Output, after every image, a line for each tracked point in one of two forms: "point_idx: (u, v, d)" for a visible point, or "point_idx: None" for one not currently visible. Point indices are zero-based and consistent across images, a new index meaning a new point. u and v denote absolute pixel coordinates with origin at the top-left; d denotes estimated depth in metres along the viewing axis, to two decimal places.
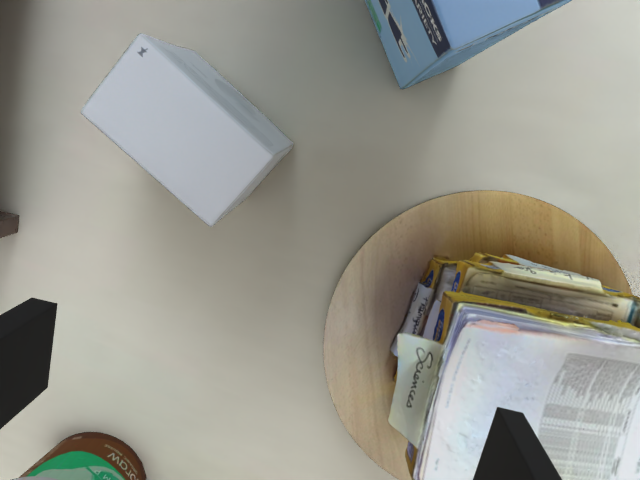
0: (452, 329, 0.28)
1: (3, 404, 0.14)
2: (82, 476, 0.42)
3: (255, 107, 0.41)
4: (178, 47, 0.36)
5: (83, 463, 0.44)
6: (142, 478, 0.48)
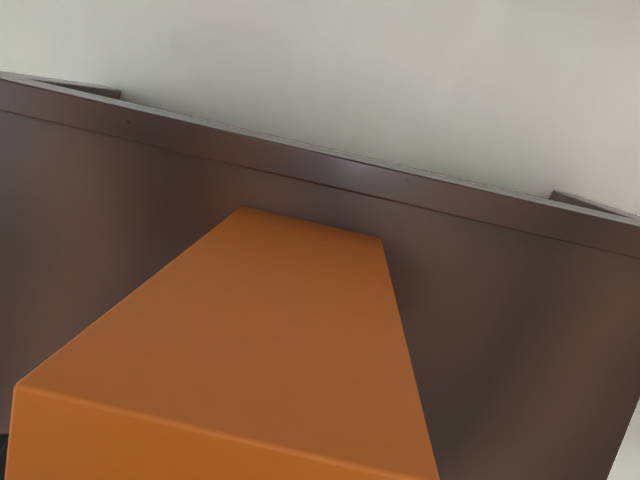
0: None
1: None
2: None
3: None
4: None
5: None
6: None
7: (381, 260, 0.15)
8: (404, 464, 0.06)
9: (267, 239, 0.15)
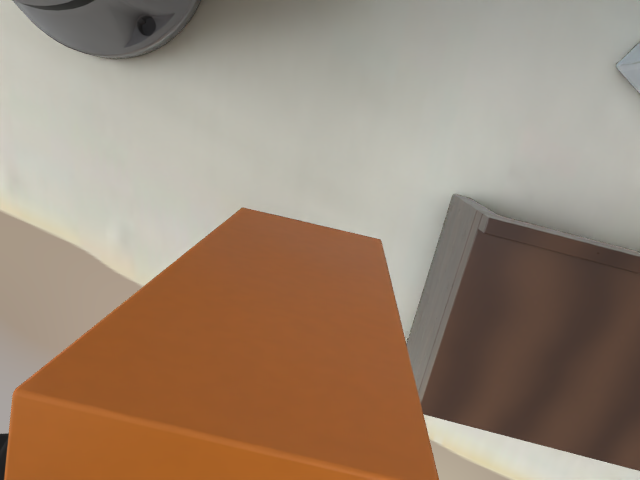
0: None
1: None
2: None
3: None
4: None
5: None
6: None
7: (381, 262, 0.15)
8: (405, 470, 0.06)
9: (267, 241, 0.15)
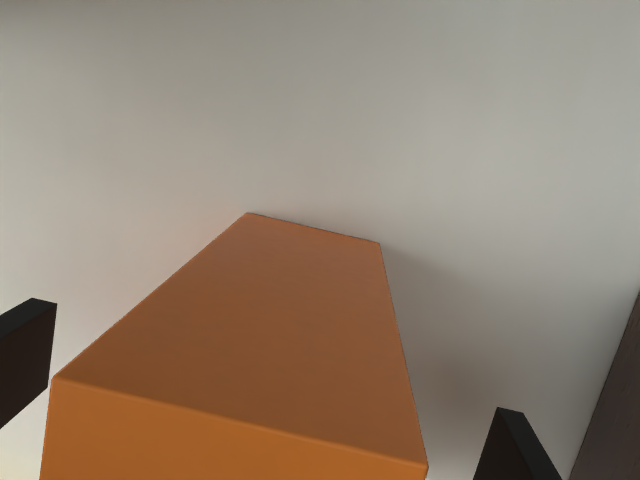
0: None
1: (3, 404, 0.14)
2: None
3: None
4: None
5: None
6: None
7: (379, 265, 0.16)
8: (396, 448, 0.07)
9: (271, 245, 0.16)
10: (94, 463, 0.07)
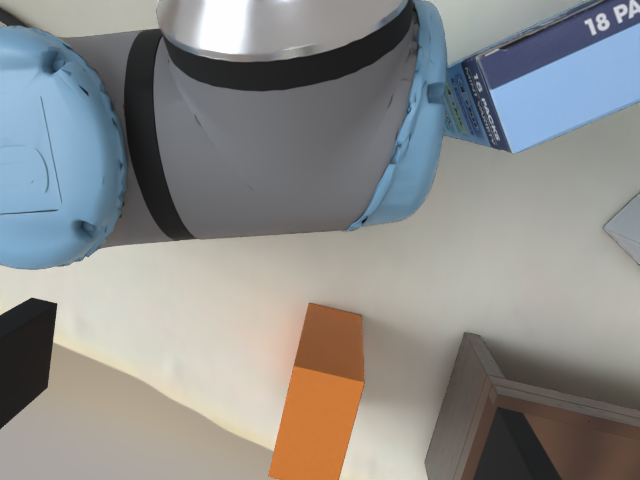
0: None
1: (3, 404, 0.14)
2: None
3: None
4: (631, 235, 0.42)
5: None
6: None
7: (360, 328, 0.46)
8: (358, 379, 0.37)
9: (322, 322, 0.46)
10: (300, 382, 0.37)
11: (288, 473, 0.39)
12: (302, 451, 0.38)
